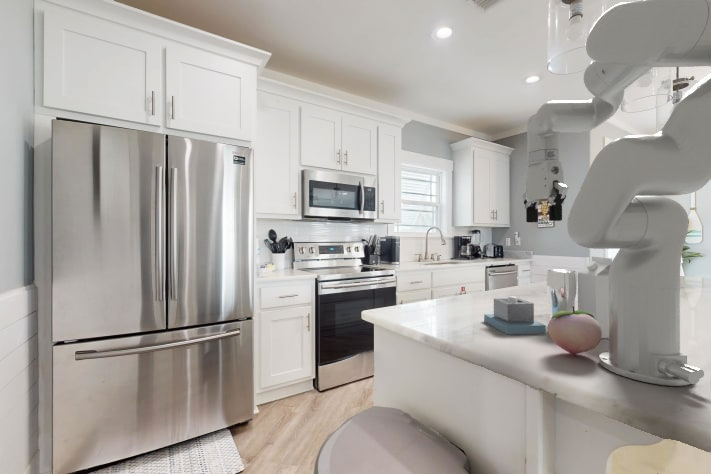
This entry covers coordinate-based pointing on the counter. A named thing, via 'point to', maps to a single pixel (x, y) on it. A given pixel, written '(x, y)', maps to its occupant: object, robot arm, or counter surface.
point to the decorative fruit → (575, 331)
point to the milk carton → (595, 291)
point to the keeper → (515, 324)
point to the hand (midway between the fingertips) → (543, 221)
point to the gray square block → (514, 311)
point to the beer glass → (561, 290)
